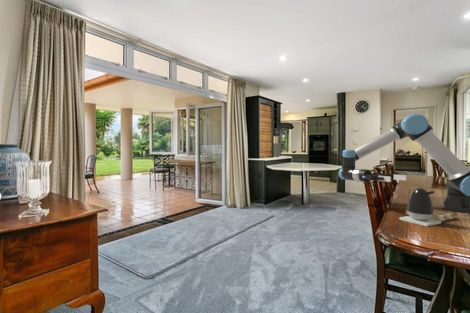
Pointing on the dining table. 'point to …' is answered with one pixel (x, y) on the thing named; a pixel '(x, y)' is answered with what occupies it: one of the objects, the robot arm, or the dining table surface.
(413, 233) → the dining table surface
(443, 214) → the square picture frame
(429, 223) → the ceramic tile
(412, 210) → the black tall egg-shaped piece
